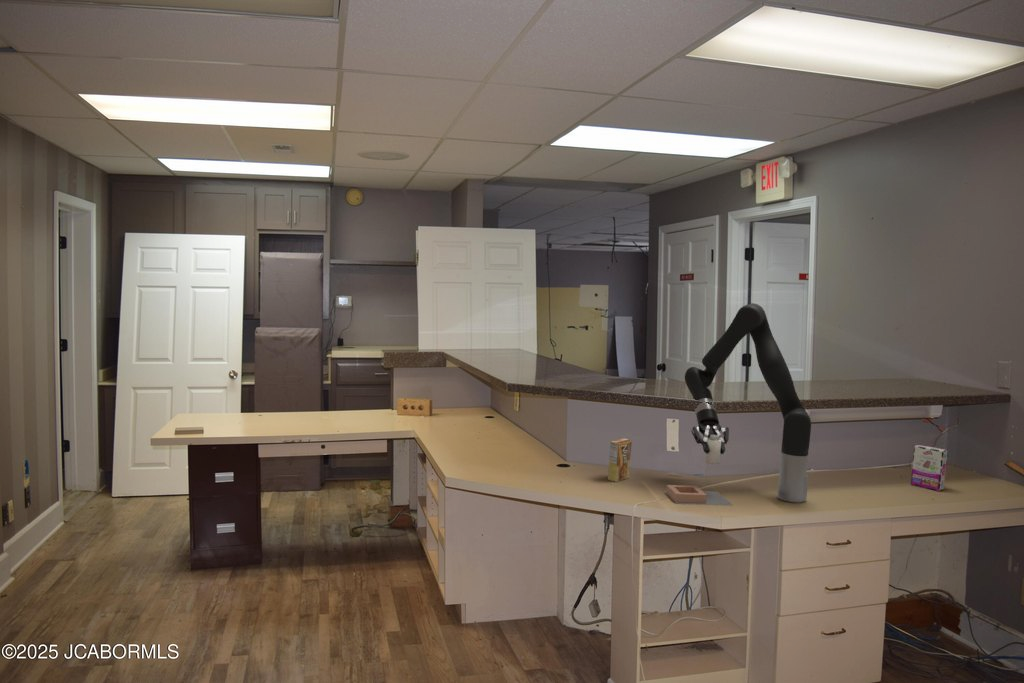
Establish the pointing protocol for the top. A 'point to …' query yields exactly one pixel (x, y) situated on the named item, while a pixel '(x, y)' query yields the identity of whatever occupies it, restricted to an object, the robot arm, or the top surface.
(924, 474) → the candy bar box
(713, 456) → the connector plug
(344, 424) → the top surface
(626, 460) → the candy box
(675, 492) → the holder
